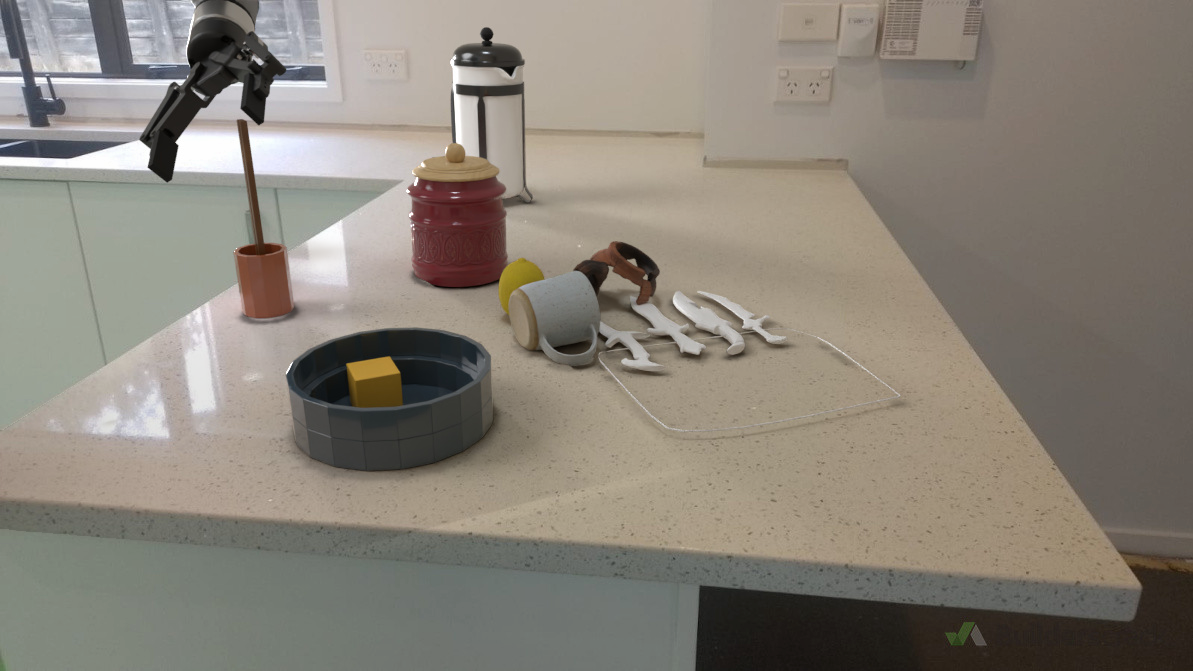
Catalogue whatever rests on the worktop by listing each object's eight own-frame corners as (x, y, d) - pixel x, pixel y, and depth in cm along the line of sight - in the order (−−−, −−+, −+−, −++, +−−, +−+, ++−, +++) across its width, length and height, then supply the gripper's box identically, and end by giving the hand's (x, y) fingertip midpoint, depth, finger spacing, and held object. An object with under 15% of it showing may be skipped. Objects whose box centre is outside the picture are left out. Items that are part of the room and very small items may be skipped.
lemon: (502, 333, 95) (500, 266, 92) (497, 316, 100) (495, 251, 97) (550, 330, 96) (549, 264, 93) (543, 313, 101) (542, 249, 98)
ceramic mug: (506, 339, 94) (502, 274, 91) (571, 325, 97) (570, 262, 94) (547, 376, 85) (544, 306, 82) (617, 359, 89) (616, 291, 86)
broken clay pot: (601, 287, 112) (632, 237, 109) (646, 332, 108) (680, 281, 104) (541, 284, 103) (573, 229, 100) (587, 333, 98) (623, 277, 95)
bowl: (273, 481, 66) (263, 414, 64) (316, 386, 82) (309, 329, 80) (492, 472, 68) (490, 406, 66) (493, 380, 84) (491, 325, 82)
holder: (238, 323, 97) (227, 256, 94) (251, 306, 102) (241, 242, 99) (288, 322, 98) (279, 256, 94) (298, 305, 103) (290, 242, 100)
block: (359, 421, 74) (355, 380, 73) (350, 402, 78) (346, 363, 76) (403, 412, 76) (400, 372, 75) (393, 394, 79) (389, 355, 78)
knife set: (735, 288, 111) (736, 280, 110) (914, 403, 80) (916, 392, 80) (549, 309, 102) (549, 300, 102) (671, 446, 72) (671, 435, 72)
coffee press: (542, 192, 161) (541, 26, 149) (521, 213, 146) (517, 30, 135) (456, 188, 163) (447, 24, 152) (426, 207, 149) (415, 27, 137)
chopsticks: (267, 311, 99) (240, 121, 90) (263, 307, 100) (236, 119, 92) (273, 310, 99) (247, 120, 91) (269, 306, 100) (242, 119, 92)
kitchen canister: (507, 288, 109) (503, 152, 103) (406, 289, 109) (396, 152, 102) (509, 259, 121) (506, 135, 115) (419, 259, 120) (410, 134, 114)
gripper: (319, 16, 107) (316, 114, 94) (172, 112, 113) (150, 216, 100) (276, -32, 102) (267, 64, 88) (124, 71, 108) (94, 175, 94)
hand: (205, 145), depth 94 cm, fingers open, 13 cm apart
